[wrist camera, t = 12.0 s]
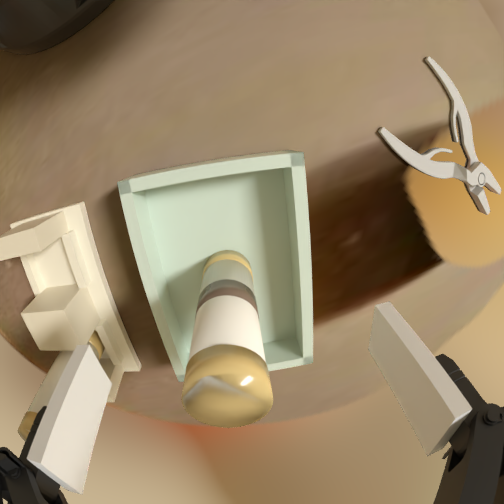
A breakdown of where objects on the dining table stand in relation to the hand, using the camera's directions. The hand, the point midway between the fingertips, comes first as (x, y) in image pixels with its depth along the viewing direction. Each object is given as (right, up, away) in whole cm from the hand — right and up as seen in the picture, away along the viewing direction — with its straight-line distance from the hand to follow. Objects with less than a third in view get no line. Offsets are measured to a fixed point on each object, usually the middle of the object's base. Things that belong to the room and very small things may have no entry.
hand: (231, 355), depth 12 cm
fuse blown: (-1, +3, +9) cm, 10 cm away
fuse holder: (-15, 0, +10) cm, 18 cm away
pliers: (+19, +14, +8) cm, 25 cm away
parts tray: (-1, +3, +10) cm, 11 cm away
